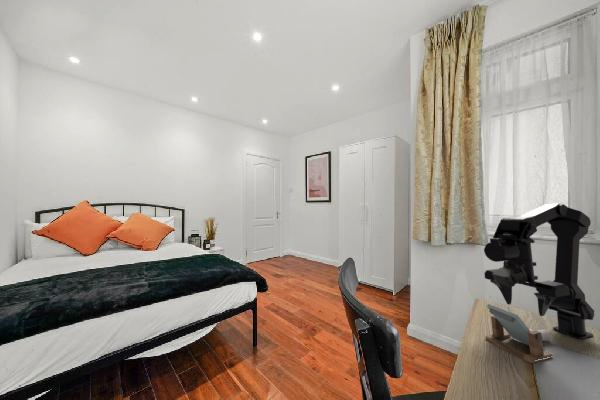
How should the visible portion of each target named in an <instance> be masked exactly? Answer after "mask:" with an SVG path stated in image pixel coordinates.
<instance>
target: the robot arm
mask: <svg viewBox="0 0 600 400" xmlns="http://www.w3.org/2000/svg"><path fill="white" fill-rule="evenodd" d="M591 222H592V221H591V219H590V217H589V216H588V215H586V214H585V213H584V212H582V211H581V210H578V209H574V208H571V207H569V206H567V205H566V204H563V203H545V204H542V205H541V206H539V207H537V208H535V209H533V210H531V211H528V212H525V213H524V214H522V215H515V216H507V217H503V218H502V219H500V220H499V223H498V225H497V227H496V230H495V231H494V234H493V236H492V238H491V237H490V239H489V242H488V243H487V244H485V246H484V248H483V252H484V253H483V254H485V255H484V256H486V258H487V259H488V260H491V262H495V263H497V262H499V263H500V262H502V263H503V265H502V267H499V268H493V269H487V270H485V271H484V274H483V275H484V279H486V280H489V282H490V283H492V284H493V285H495V286H496V287H497V288H498V290H499V291H500V293H501V295H502V297H503V299H504V301H505V302H506V305H508V306H509V305H512V300H513V287H515V285H516V284H517V285H518V284H519V285H523V286H527V287H531V288H535V291H536V292H534V293H533V295H534V296H535V298H537V309H538V314H539V316H540V317H544V316H545V315H546V313H547V311H548V309H549V310H552V311H555V312H556V316H557V319H556V320H557V326H553V327H552V330H555V331H558V332H560V333H561V334H564V335H568V336H571V337H573V338H575V339H579V340H581V339H587V338H591V337H593V336H594V334H593V333H591V332H589V331H587V328H586V320H588V321H589V320H590V321H593V320H594V317H595V309H593V307H592V306H591V305H590V304H589V303H588V302H587V301H586V294H585V293H584V291H583V290H582V289H581V288H580V286H579V285H578V276H579V261H580V259H579V256H580V240H581V239H583V238H584V237H585V236H587V234H588V233H589V227H590V226H591ZM545 223H547V224H549V225H550V231H551V232H552V233H553V234H554V236H556V253H555V267H554V269H555V270H554V279H553V281H552V280H545V281H536V280H539V275H535V272H534V271H535V270H534V267H537V262H536V261H534V260H533V252H532V244H534V243H536V242H535V240H534V239H533V238H532V235H534V234H535V233H537V231H538V229H537V228H538V227H540V226H542V225H544V224H545Z"/></svg>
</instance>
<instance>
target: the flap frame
mask: <svg viewBox="0 0 600 400" xmlns="http://www.w3.org/2000/svg"><path fill="white" fill-rule="evenodd" d="M490 321H491V330H492V331H491V332H492V334H487V335H485V340H487V341H489V342H491V343H492V344H494V345H496V346H498V347H499V348H501V349H504V350H505V351H507V352H509V353H510V354H512V355H515V356H517V357H519V358H521V359H522V360H524V361H526V362H528V363H529V364H532V363H535V362H534V361H535V360H538V359H543V358H547V357H551V356H553V353H551V352H549V351H547V350H545V351H543V348H544V347H543V345H544V343H543V341H542V334H541V332H539V331H538V330H537V329H536V330H533V331H530V332H528V337H529V345H528V347H529V354H526V353H524V352H522V351H520V350H518V349H516V348H514V347H512V346H511V345H508V344H507V343H504V342H502V341H501V340H505V339H511V338H512V337H511V336H510V335H509V333H508V332H507V331H504V330H505V328H504V327H503V326H502V325H501V323H500V322H499V321H498V320H497V319H496V317H495V316H494V315H491V316H490Z"/></svg>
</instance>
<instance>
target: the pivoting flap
mask: <svg viewBox="0 0 600 400" xmlns="http://www.w3.org/2000/svg"><path fill="white" fill-rule="evenodd" d="M486 308H487V309H488V310H489V311H488V312H489V313H490V314H491V315H492V316H495V317H496V319H497V320H498V321H499V322H500V323H501V325H502V326H503V329H504V330H505V332H506V333H508V334H509V335H510V337H511V338H512V339H514V340H516V341H519V342H521V343H523V344H525V345H527V346H529V337H528V332H530V330H529V329H530V328H529V327H528V326H527V325H526V324H525V322H524V321H523V320H522V319H521V317H520V316H519V315H518V314H517V313H513V312H510V311H507V310H505V309H503V308H500V307H498V306H495V305H492V304H489V303H488V304H487V305H486ZM543 351H546V348H545V347H543Z"/></svg>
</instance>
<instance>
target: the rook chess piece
mask: <svg viewBox="0 0 600 400" xmlns="http://www.w3.org/2000/svg"><path fill="white" fill-rule="evenodd" d="M528 329H529V330H530V331H534V329H532V328H528ZM537 331H539V332H541V334H542V342H543V341H544V342H551V341H553V335H552V334H551V332H550V331H548V330H547V329H543V328H541V329H538V330H537Z"/></svg>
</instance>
